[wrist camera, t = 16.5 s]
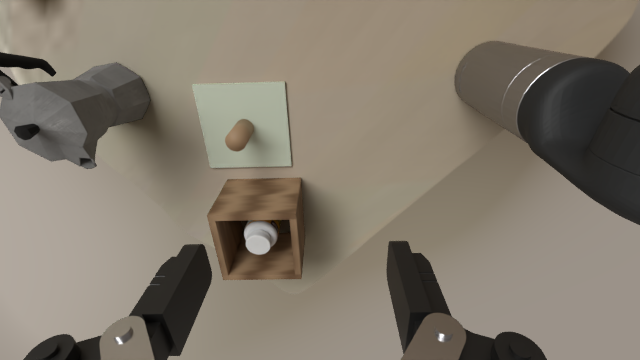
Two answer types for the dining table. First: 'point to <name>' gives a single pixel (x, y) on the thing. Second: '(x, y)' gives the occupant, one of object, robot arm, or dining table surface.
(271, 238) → the supplement bottle
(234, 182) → the box
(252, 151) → the lid
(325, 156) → the dining table surface
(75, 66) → the dining table surface
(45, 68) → the coffeepot
